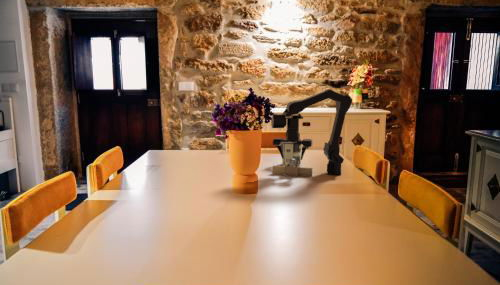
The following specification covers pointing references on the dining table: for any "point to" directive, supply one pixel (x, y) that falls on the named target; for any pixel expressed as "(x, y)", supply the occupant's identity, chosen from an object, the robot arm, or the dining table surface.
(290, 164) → the pin
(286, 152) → the coffee can
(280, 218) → the dining table surface
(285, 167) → the wooden box with arms
